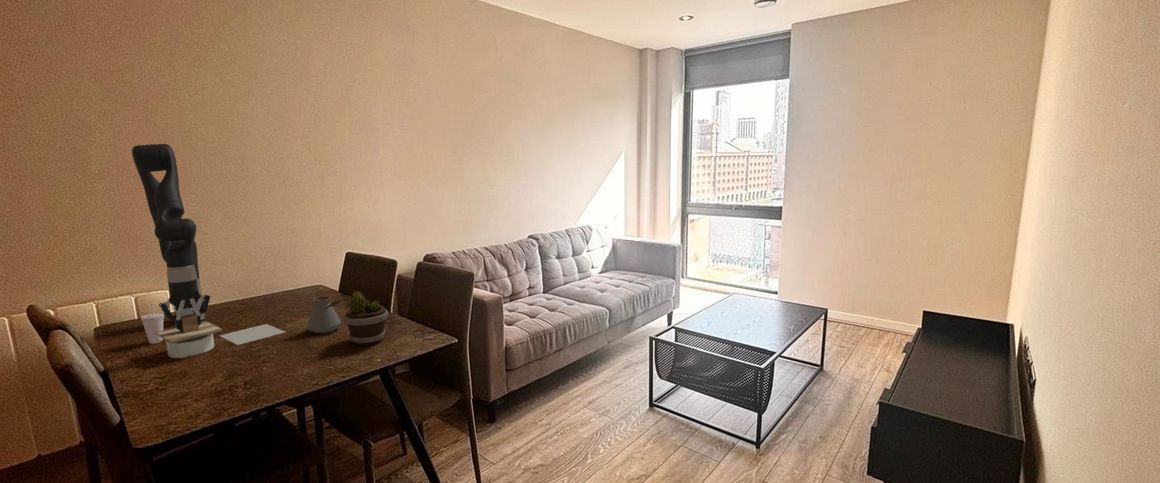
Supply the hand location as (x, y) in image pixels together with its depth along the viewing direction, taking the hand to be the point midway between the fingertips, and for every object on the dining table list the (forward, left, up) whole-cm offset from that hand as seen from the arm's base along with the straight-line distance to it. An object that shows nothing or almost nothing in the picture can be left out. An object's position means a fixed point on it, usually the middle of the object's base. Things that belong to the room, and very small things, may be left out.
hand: (188, 328), depth 165 cm
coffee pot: (+22, +36, -8) cm, 43 cm away
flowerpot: (+40, +40, -8) cm, 57 cm away
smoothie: (-21, -4, -8) cm, 23 cm away
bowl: (0, 0, -8) cm, 8 cm away
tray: (0, +19, -8) cm, 21 cm away
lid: (0, 0, -2) cm, 2 cm away
